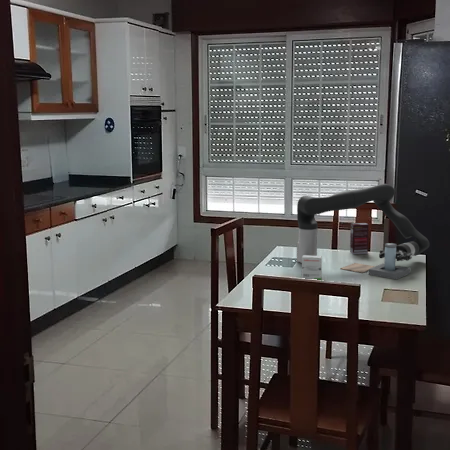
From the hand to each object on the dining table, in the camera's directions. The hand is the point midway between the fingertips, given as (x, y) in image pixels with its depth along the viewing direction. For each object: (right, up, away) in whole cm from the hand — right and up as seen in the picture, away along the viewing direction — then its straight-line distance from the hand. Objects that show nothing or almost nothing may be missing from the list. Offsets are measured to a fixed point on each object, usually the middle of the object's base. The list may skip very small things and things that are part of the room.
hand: (388, 257), depth 288 cm
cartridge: (+1, -8, +3) cm, 8 cm away
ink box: (-37, -11, -11) cm, 40 cm away
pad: (-11, -6, +13) cm, 18 cm away
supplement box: (-4, 0, +45) cm, 45 cm away
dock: (+1, -8, +3) cm, 8 cm away
